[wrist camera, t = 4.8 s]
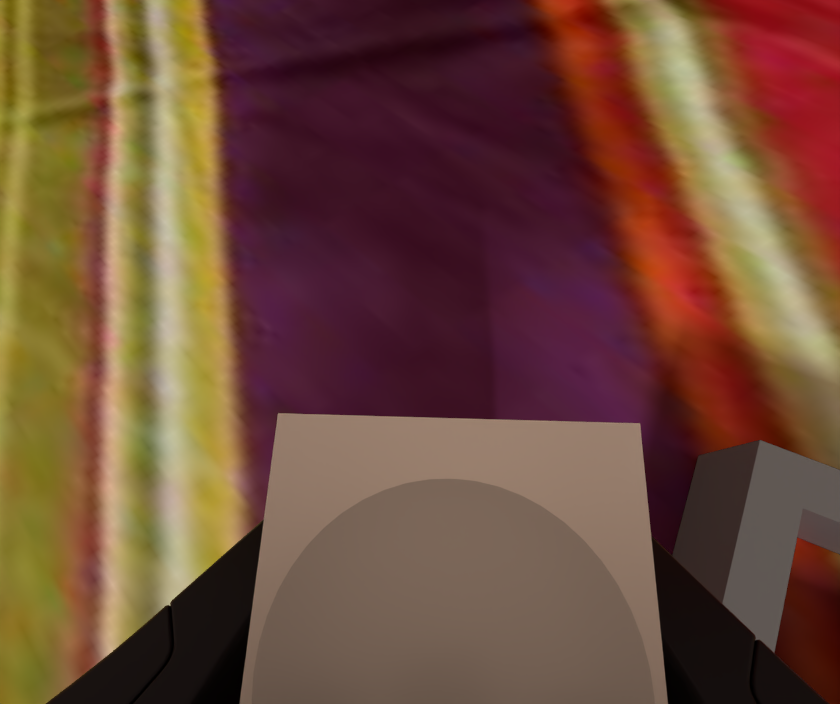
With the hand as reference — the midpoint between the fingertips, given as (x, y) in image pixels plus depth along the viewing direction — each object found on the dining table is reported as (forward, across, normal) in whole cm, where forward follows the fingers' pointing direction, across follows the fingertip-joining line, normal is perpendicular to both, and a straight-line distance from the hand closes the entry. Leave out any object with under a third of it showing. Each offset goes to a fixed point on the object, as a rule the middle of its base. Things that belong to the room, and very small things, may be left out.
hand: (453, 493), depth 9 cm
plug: (+4, 0, +6) cm, 7 cm away
